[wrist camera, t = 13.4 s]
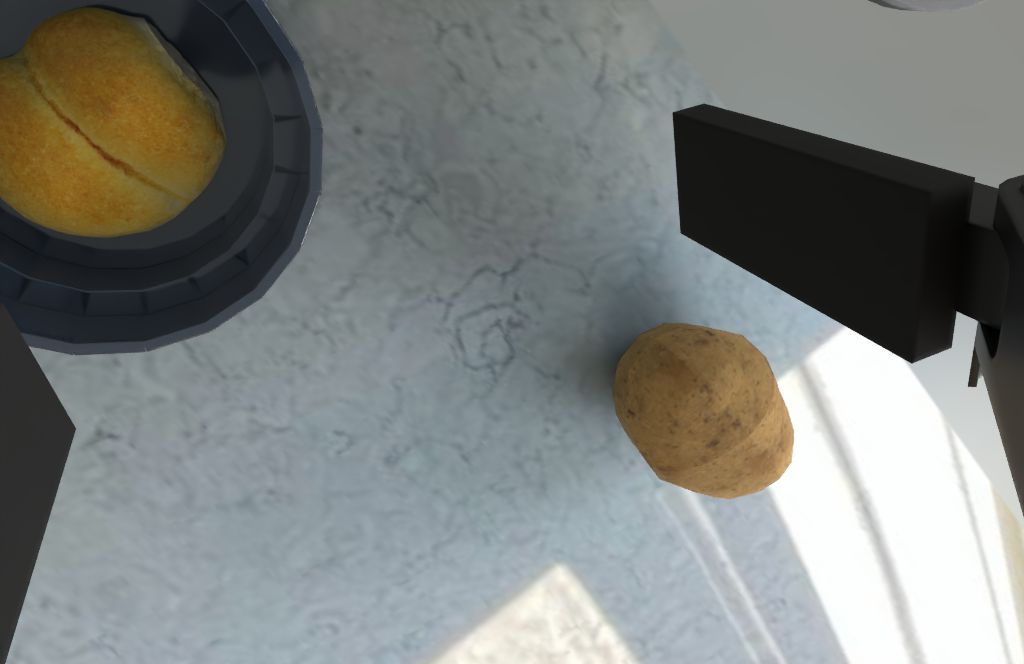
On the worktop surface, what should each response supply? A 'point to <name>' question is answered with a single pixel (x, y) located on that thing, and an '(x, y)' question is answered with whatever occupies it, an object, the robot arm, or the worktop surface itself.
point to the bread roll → (104, 126)
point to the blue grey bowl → (206, 220)
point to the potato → (704, 410)
